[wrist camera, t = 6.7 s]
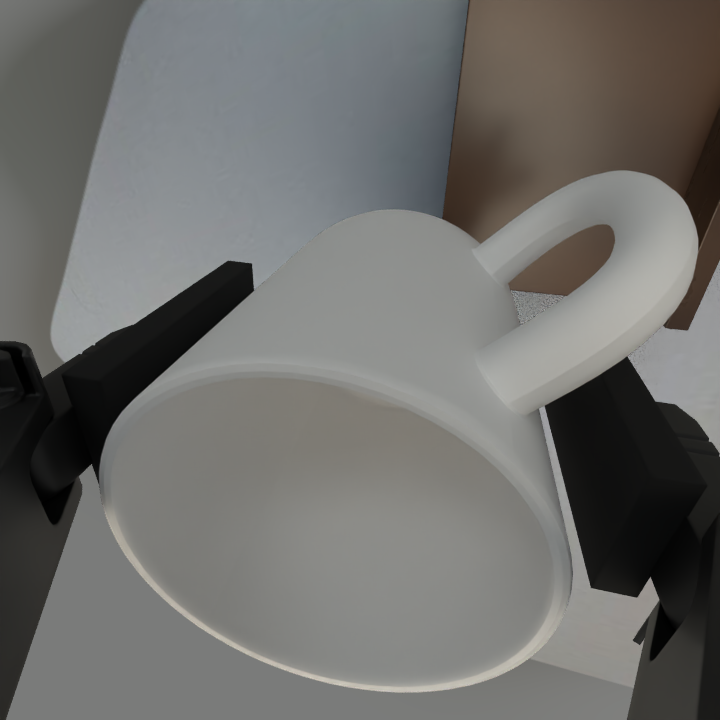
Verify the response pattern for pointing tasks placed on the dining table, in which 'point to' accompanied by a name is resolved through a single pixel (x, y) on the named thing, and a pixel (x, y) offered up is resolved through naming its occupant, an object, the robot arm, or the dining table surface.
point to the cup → (388, 441)
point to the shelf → (586, 121)
